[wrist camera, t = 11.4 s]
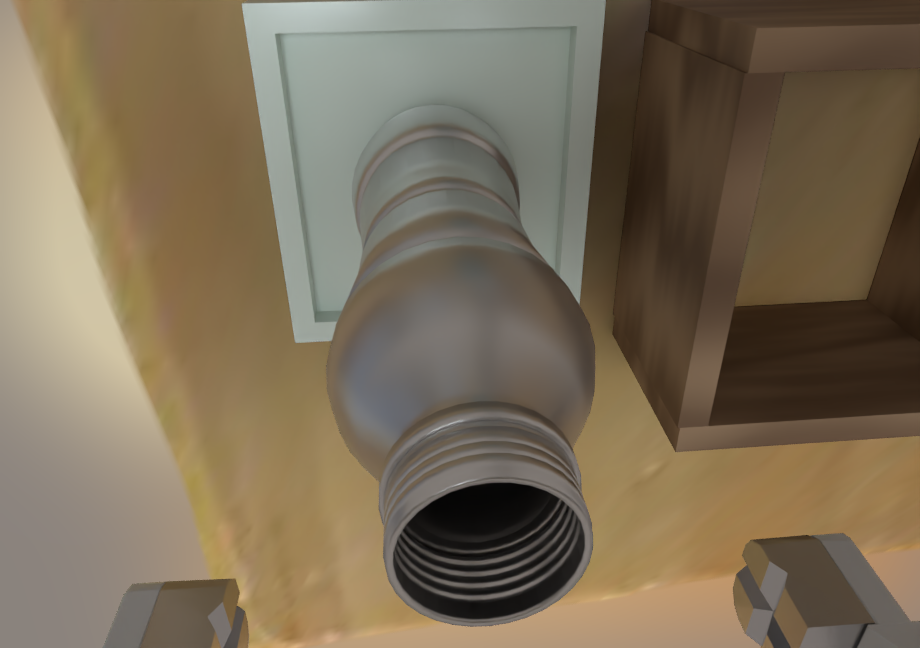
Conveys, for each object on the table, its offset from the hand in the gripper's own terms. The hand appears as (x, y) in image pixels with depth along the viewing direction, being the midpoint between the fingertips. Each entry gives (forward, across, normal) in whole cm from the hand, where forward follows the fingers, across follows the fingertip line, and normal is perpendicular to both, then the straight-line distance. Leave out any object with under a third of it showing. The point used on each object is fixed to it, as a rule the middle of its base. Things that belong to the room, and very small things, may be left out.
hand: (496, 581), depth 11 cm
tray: (+22, 0, +1) cm, 22 cm away
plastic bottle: (+21, 0, 0) cm, 21 cm away
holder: (+22, -16, +2) cm, 27 cm away
